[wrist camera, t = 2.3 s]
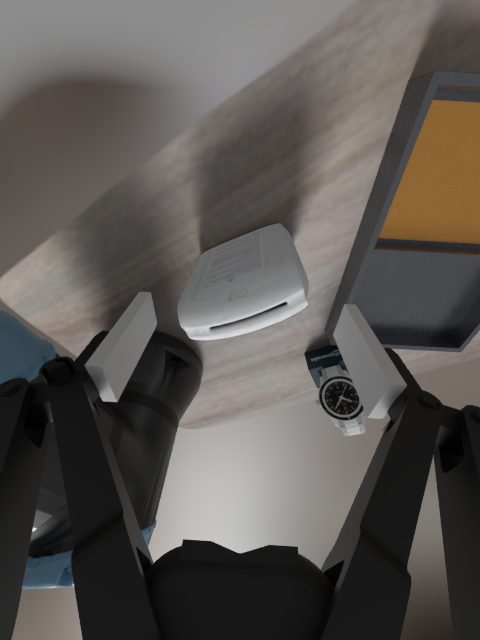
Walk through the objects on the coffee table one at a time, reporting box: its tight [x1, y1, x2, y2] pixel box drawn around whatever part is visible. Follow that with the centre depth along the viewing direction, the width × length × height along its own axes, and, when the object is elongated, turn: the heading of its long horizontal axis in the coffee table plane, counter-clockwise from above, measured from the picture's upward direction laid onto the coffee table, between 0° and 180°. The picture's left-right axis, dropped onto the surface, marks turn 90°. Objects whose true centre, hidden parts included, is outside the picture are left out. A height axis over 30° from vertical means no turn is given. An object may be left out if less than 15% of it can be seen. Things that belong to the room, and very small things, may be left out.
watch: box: [305, 345, 366, 436], centre depth 30 cm, size 6×8×11 cm
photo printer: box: [178, 223, 308, 340], centre depth 21 cm, size 10×4×12 cm, turn 113°
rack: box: [325, 71, 480, 352], centre depth 23 cm, size 16×24×3 cm
